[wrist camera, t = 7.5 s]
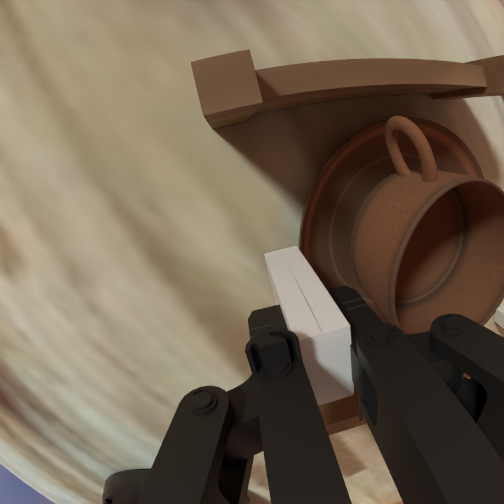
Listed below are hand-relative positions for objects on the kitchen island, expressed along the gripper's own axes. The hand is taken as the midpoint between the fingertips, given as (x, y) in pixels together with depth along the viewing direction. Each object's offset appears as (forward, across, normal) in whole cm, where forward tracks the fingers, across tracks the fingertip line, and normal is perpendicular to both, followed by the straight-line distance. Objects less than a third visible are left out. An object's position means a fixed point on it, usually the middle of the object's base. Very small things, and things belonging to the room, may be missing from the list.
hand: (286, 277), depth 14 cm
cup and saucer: (+2, -7, 0) cm, 7 cm away
